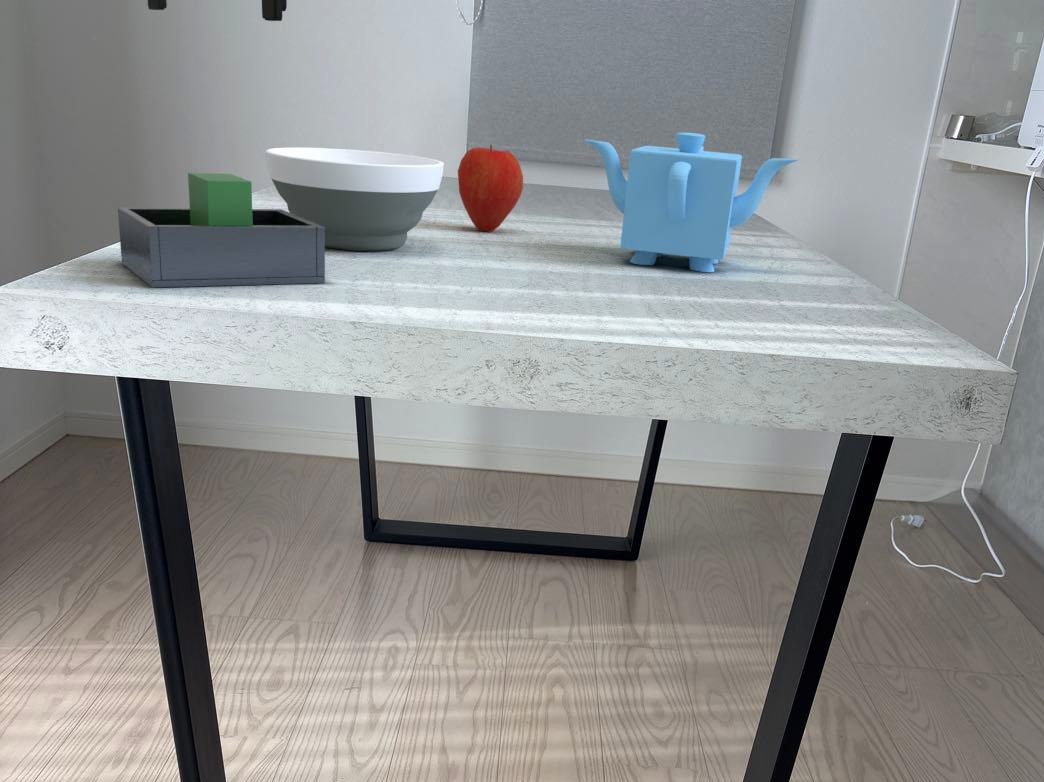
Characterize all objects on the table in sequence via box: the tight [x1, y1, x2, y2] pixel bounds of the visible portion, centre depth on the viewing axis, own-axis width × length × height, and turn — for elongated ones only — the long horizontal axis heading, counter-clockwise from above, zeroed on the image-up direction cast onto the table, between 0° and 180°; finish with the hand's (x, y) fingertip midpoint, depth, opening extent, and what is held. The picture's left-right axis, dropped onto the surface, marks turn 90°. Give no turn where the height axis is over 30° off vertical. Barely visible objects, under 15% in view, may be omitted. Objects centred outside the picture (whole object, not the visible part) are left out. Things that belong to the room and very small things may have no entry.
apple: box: [457, 144, 524, 233], centre depth 138 cm, size 9×8×11 cm
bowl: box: [265, 147, 445, 252], centre depth 119 cm, size 20×20×10 cm
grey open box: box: [117, 206, 326, 289], centre depth 98 cm, size 16×12×5 cm
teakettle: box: [584, 132, 798, 273], centre depth 126 cm, size 19×19×15 cm
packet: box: [187, 172, 253, 225], centre depth 97 cm, size 6×4×8 cm, turn 32°
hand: (216, 15), depth 88 cm, fingers open, 9 cm apart
